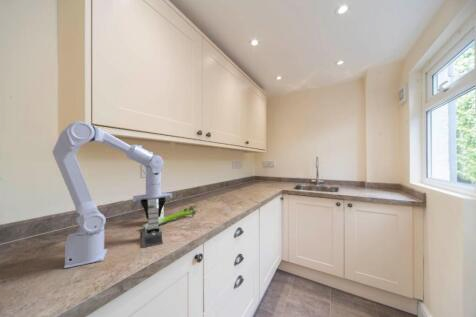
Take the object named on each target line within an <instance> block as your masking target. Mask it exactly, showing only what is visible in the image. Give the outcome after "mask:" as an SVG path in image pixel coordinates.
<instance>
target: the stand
mask: <svg viewBox="0 0 476 317" xmlns="http://www.w3.org/2000/svg"><path fill="white" fill-rule="evenodd" d="M141 232H142V233H141V240H142V241H141V243H142V244H141V246H142V247H141V249H144V248H149V247H153V246H154V247H155V246H160V245H163V244H164V241H163V231H162V227H161V226H159V228H157V229H151V230H148V229H145V228H144V229H142V230H141Z"/></svg>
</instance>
